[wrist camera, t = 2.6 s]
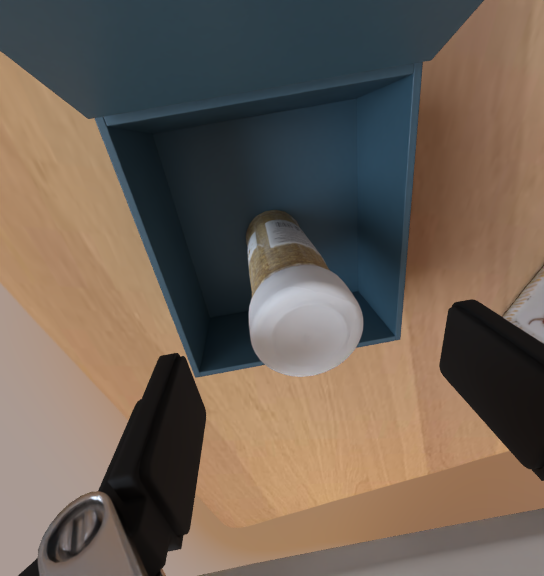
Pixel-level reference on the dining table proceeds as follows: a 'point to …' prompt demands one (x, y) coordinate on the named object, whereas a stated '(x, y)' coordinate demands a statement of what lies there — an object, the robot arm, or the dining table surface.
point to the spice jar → (297, 301)
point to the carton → (272, 197)
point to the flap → (213, 45)
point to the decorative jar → (530, 308)
